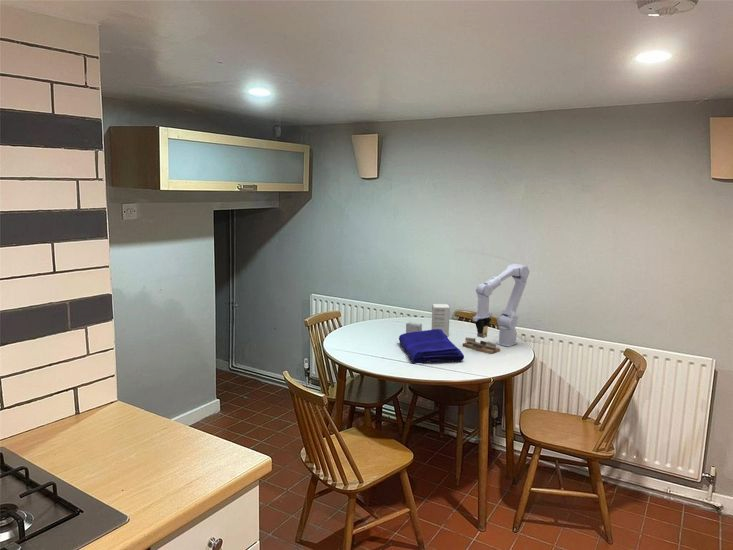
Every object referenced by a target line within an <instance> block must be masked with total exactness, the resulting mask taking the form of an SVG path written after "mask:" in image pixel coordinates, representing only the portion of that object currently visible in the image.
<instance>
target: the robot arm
mask: <svg viewBox="0 0 733 550" xmlns="http://www.w3.org/2000/svg"><path fill="white" fill-rule="evenodd" d="M529 275H530V269H529V267H528V266H527V265H524V264H518V263H515V262H512V263H510V264H509V265H507V267H506V268H505V269H504V270H503V271H502V272H501V273H500V274H499V275H497V276H491V277H490V278H489V279H487V280H486V281H484V283H480V284H478V285H477V286H476V288H475V292H476V294H477V310H476V312H477V313H475V316H473V317H472V322H473V323H474V324H475V327H476V331H477V333H482V328H483V325H487V326H488V327H489V325H490V323H491V321H492V317H493V313H492V312H489V309H490V296H491V295H492V293H493V292H494V290H496V289H497V288H499V287H500V286H501V285H502V284H501V283H502V282H504V281H505V280H506V279H508V278H510V277H511V278H512V280H513V281H514V286H513V287H512V291H511V293H510V296H509V298H508V302H507V304H506V307H505V309H503V310H502V311H500V314H499V315H498V317H496V323H497V325H498V328H499V334H498V335H499V336H498V341H497V342H495V343H496V345H499V346H504V347H506V348H507V347H511V346H514V345H517V344H518V342H517V329H516V327H517V324H518V318H519V317H518V316H519V315H517V309H518V307H519V303H520V301H521V299H522V295H523V292H524V290H525V287H526V285H527V280H528V277H529Z"/></svg>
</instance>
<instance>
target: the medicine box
mask: <svg viewBox="0 0 733 550" xmlns="http://www.w3.org/2000/svg"><path fill="white" fill-rule="evenodd" d="M418 331H423V324H422V323H420V322H413V321H408V322H407V323H405V333H410V332H418Z"/></svg>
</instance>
